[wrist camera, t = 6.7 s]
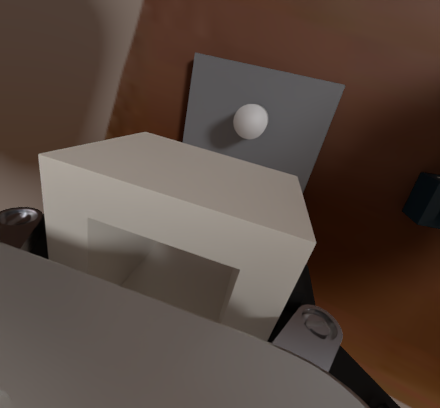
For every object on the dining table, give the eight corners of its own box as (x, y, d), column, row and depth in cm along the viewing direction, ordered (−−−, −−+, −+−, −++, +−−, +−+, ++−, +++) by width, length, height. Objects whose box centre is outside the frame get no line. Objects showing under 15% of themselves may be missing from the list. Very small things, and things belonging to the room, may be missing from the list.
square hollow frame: (145, 131, 11) (38, 154, 6) (297, 176, 10) (316, 243, 5) (133, 253, 14) (55, 334, 9) (250, 294, 13) (234, 406, 8)
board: (199, 55, 24) (179, 42, 19) (341, 86, 22) (359, 81, 17) (174, 230, 33) (155, 252, 28) (273, 261, 31) (272, 291, 26)
